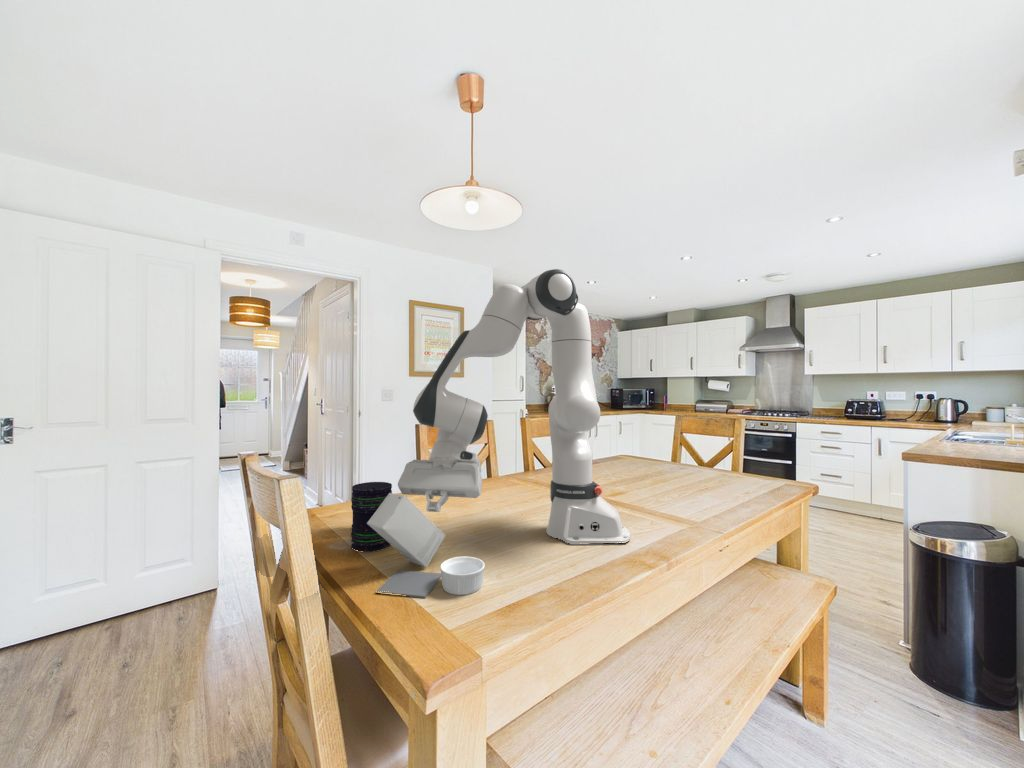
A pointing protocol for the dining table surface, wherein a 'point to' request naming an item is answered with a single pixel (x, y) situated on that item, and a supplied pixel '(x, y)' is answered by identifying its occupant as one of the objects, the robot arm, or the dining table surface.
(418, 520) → the skincare box
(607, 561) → the dining table surface
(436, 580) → the mat
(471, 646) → the dining table surface
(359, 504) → the black cylinder
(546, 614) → the dining table surface
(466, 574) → the ramekin
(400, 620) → the dining table surface
